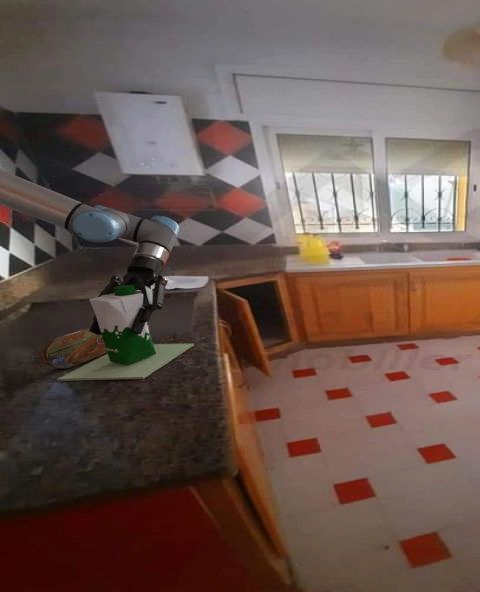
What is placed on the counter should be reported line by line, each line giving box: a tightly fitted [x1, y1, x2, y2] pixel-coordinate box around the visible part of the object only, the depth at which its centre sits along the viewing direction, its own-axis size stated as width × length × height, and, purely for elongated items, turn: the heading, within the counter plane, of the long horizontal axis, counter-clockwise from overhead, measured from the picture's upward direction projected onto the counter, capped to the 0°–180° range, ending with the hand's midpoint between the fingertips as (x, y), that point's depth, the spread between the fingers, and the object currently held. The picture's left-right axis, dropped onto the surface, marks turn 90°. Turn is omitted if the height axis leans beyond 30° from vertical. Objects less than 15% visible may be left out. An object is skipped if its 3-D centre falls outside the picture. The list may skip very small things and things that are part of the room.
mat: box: [57, 343, 195, 382], centre depth 88 cm, size 20×20×1 cm
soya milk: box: [88, 285, 156, 365], centre depth 85 cm, size 9×9×20 cm
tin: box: [40, 327, 108, 370], centre depth 87 cm, size 15×3×8 cm, turn 170°
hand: (115, 332), depth 82 cm, fingers closed on soya milk, 9 cm apart
